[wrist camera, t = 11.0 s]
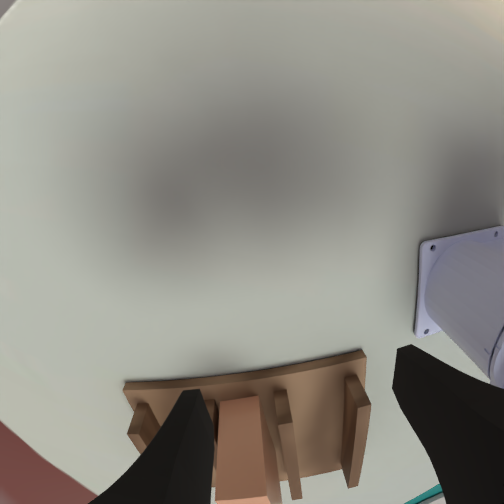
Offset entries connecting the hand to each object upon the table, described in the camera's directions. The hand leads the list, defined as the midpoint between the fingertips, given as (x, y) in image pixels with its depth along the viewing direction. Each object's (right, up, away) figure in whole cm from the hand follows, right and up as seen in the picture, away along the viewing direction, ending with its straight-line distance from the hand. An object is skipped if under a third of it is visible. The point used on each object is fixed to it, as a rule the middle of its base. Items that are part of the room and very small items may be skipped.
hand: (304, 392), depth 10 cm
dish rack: (-2, -12, +14) cm, 19 cm away
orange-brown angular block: (-2, -10, +13) cm, 16 cm away
